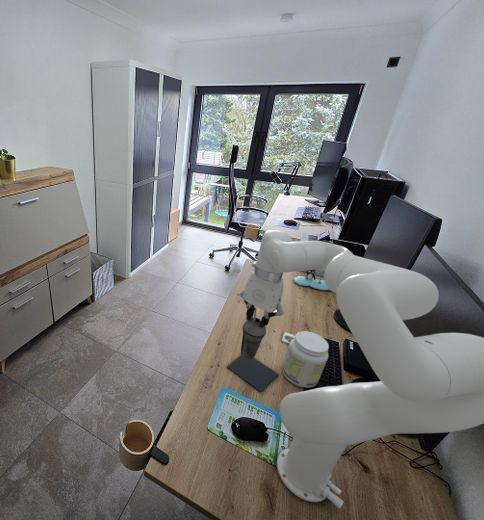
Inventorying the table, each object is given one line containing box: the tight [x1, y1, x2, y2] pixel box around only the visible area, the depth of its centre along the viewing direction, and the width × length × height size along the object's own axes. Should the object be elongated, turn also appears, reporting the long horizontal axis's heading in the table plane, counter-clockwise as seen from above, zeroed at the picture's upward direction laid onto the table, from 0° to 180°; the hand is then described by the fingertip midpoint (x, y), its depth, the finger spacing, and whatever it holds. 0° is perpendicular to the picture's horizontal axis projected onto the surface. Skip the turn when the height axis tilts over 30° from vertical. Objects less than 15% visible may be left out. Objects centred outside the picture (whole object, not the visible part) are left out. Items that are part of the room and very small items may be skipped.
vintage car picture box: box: [281, 331, 296, 345], centre depth 121 cm, size 15×7×4 cm, turn 56°
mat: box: [226, 355, 279, 393], centre depth 109 cm, size 14×12×1 cm
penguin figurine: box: [293, 269, 331, 291], centre depth 161 cm, size 20×11×15 cm, turn 62°
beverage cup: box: [240, 307, 267, 360], centre depth 95 cm, size 7×7×20 cm
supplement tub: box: [281, 330, 330, 389], centre depth 103 cm, size 12×12×17 cm
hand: (256, 321), depth 93 cm, fingers closed on beverage cup, 4 cm apart
